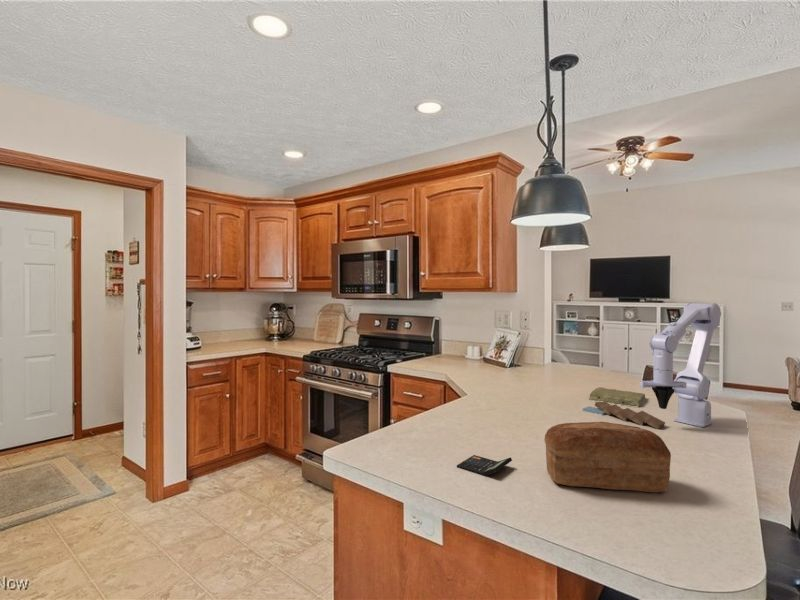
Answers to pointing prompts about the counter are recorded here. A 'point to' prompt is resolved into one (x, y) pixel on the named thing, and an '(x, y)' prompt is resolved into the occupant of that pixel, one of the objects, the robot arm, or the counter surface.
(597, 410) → the domino
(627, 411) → the domino
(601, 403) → the domino
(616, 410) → the domino
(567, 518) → the counter surface
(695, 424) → the robot arm
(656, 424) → the domino
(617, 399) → the decorative tile
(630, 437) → the bread
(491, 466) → the calculator
